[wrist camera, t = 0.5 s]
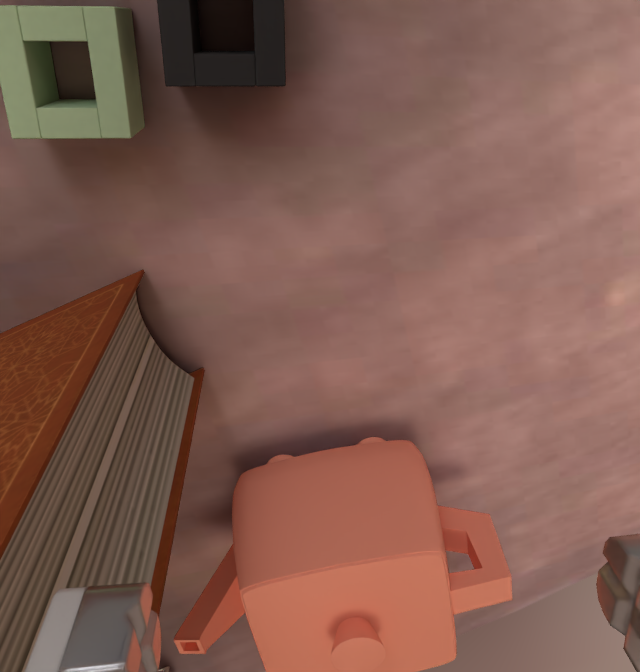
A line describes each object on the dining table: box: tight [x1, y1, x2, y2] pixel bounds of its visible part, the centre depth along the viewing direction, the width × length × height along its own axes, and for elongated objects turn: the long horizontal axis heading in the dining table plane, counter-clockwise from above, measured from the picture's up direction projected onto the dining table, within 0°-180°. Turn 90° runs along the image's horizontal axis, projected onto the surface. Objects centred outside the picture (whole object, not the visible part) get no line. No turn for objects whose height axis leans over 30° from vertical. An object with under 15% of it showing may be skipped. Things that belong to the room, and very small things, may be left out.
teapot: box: [174, 437, 512, 672], centre depth 42 cm, size 22×13×14 cm, turn 101°
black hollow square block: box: [157, 0, 286, 86], centre depth 31 cm, size 6×6×4 cm
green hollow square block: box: [0, 5, 145, 139], centre depth 32 cm, size 6×6×4 cm
